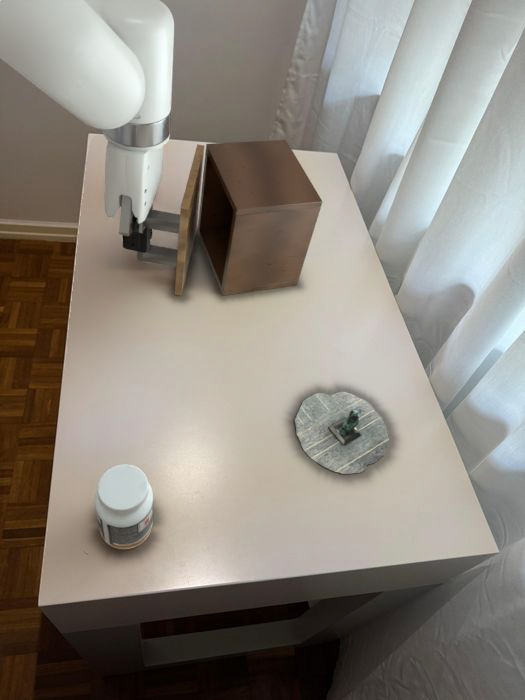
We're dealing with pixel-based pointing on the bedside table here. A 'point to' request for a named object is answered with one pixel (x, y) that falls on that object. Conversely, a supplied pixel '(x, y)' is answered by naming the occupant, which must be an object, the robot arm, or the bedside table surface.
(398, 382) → the bedside table surface
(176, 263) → the door
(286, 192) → the cabinet
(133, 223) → the robot arm
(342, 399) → the sculpture
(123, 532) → the pill bottle
